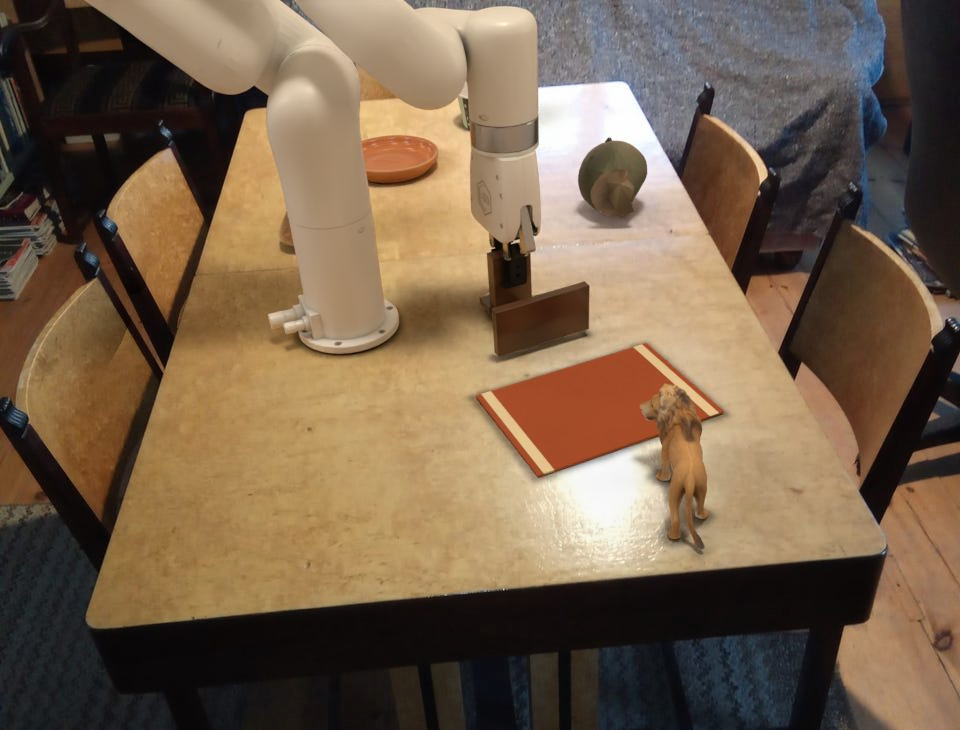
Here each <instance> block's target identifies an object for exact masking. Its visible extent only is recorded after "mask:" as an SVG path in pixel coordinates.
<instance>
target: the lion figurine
mask: <svg viewBox="0 0 960 730" xmlns="http://www.w3.org/2000/svg"><path fill="white" fill-rule="evenodd" d="M640 409H641V410H642V414H643V415H644V416H645V417H646V420H648V421H656V428H657V429H658V430H659V436H658V439H659V442H660V445H661V451H660V464H661V469H660V470H657V472H656V474H655V478H656V479H657V480H660V481H662V482H665V481H669V480H670V483H669V484H670V485H669V492H668V504H669V505H668V506H669V513H670V526H671V527H670V528H668V530H667V536H668V538H669V539H671V540H677V539H679V538H681V517H680V505H681V503H682V500H683V498H684V496H685V500H684V501H685V503H684V504H685V521H686V526H687V528H688V531H689V533H690V535H691V537H692V540H693V544H694V546H696V547H697V548H698V549H699V550H704V549H705V544H704V541H703V540H702V537H701V535H699V534H698V532H697V530H696V529H695V528H696V527H695V526H694V522H693V499H694V501H695V509H694V515H695V517H696V518H698V519H700V520H705V519H707V517H708V516H709V511H708V510H707V509H706V508H705V500H706V497H707V492H708V474H707V471H706V466H705V463H704V461H703V460H704V459H703V457H704V456H703V453H704V452H703V448H702V445H701V436H702V433H703V425H702V421H701V419H700V418H699V416H698V415H697V412H696V409H695V405H694V404H693V402H692V401H691V400H690V397H689V396H688V395H687V393H686V391H685V390H683V389H681V388H679V387H678V386H677V385H670V384H664V385H663V387H661V388H660V391H659V394H656V395H654V396H653V398H652V399H651V400H649V401H647V402H644V403H642V404H641V405H640Z"/></svg>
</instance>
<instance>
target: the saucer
mask: <svg viewBox="0 0 960 730" xmlns="http://www.w3.org/2000/svg"><path fill="white" fill-rule="evenodd" d="M361 142H362V149H363V155H364V161H365V167H366V173H367V180H368V182H371V183H378V184H379V183H380V184H392V183H393V184H394V183H401V182H406V181H411V180H414V179H417V178H418V177H421V176H423V175H424V174H425V173H426V172H427V171H429V169H430V168H432V166H433V165H434V164H435V163H436V162H437V160H438V157H439V148H438V146H437V145H436V144H435V142H433V141H432V140H429V139H427V138H423V137H420V136H414V135H406V134H405V135H403V134H393V135H381V136H375V137H371V138H367V139H363V140H361Z"/></svg>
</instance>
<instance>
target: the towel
mask: <svg viewBox="0 0 960 730" xmlns="http://www.w3.org/2000/svg"><path fill="white" fill-rule="evenodd" d="M664 384H670V385H677V386H678V387H679V388H681V389H683V390H685V391H686V393H687V395H688V396H689V397H690V400H691V401H692V402H693V404H694V405H695V409H696V412H697V415H698V416H699V418H700V419H701V422H703V421H706V420H709V419H712V418H714V417H717V416H721V415H723V414H724V413H725V412H724V410H723V409H722V408H721V407H720V406H719V405H717V404H716V403H715V402H714V401H713V400H712V399H711V398H710V397H708V396H707V395H706V394H705V393H704V392H703V391H701V390H700V389H699V388H698V387H697V386H696V385H695V384H693V383H692V382H691V381H690V380H689V379H687V377H685V376H684V375H683V374H682V373H681V372H680V371H679V370H678V369H676V368H675V367H674V366H673V365H672V364H671V363H670V362H669V361H668V360H666V359H665V358H664V357H663V356H661V355H660V354H659V353H658V352H657V351H656V350H655V349H654V348H652V347H651V346H650V344H648V343H646V342H645V343H641V344H637V345H635V346H631V347H629V348H626V349H623V350H620V351H616V352H613V353H609V354H606V355H603V356H600V357H599V356H598V357H596V358H594V359H590V360H587V361H583V362H581V363H580V362H579V363H576V364H574V365H571V366H567V367H564V368H561V369H558V370H555V371H551V372H548V373H545V374H542V375H538V376H534V377H531V378H528V379H526V380H525V379H524V380H522V381H519V382H516V383H512V384H509V385H505V386H502V387H499V388H496V389H493V390H489V391H486V392H483V393H480V394H476V395H475V397H476V400H477V401H478V403H480V405H481V406H482V407H483V408H484V410H485V411H486V412H487V414H488V415H489V416H490V417H491V419H492V420H493V421H494V422H495V424H496V425H497V427H498V428H499V429H500V430H501V432H502V433H503V434H504V436H505V437H506V438H507V439H508V441H509V442H510V443H511V445H512V446H513V448H514V449H516V451H517V452H518V453H519V455H520V456H521V458H522V459H523V461H525V463H526V464H527V465H528V466H529V467H530V470H532V472H533V473H534V474H535V476H536V477H537V478H541V477H544V476H547V475H550V474H552V473H556V472H558V471H561V470H565V469H568V468H570V467H573V466H576V465H579V464H582V463H585V462H588V461H590V460H593V459H596V458H600V457H601V456H605V455H608V454H610V453H611V454H612V453H613V452H617V451H619V450H622V449H626V448H628V447H631V446H633V445H636V444H640V443H642V442H643V443H644V442H645V441H648V440H651V439H654V438H657V437H659V430H658V429H657V428H656V421H648V420H646V417H645V416H644V415H643V414H642V410H641V409H640V405H641V404H642V403H644V402H647V401H649V400H651V399H652V398H653V396H654V395H656V394H659V391H660V388H661V387H663V385H664Z"/></svg>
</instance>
